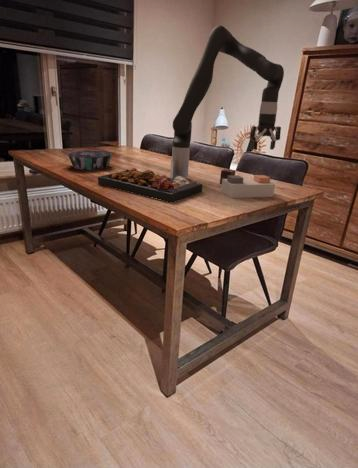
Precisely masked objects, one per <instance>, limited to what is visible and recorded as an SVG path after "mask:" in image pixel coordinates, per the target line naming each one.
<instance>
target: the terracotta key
mask: <svg viewBox="0 0 358 468" xmlns="http://www.w3.org/2000/svg"><path fill="white" fill-rule="evenodd" d="M253 179H254V181H255V182H257V183H270V182H271V177H270V176H267V175H265V174H264V175H263V174H262V175H261V174H258V175H257V174H255V175H254V176H253Z"/></svg>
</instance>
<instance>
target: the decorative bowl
mask: <svg viewBox="0 0 358 468" xmlns="http://www.w3.org/2000/svg"><path fill="white" fill-rule="evenodd" d="M66 155H67V156H68V158H69V160H70V163H71V165H72V168H74V169H76V170H80V171H94V170H95V169H96V171H97V169H99V170H105V168H106V169H107V168H108V167H109V166H110V163H111V160H112V156H113V153H112V152H110V151H105V150H96V149H95V150H94V149H89V150H87V149H83V150H75V151H70V152H68V153H67V154H66Z"/></svg>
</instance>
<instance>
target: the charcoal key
mask: <svg viewBox="0 0 358 468" xmlns="http://www.w3.org/2000/svg"><path fill="white" fill-rule="evenodd" d="M243 179H244V177H242V176H241V175H236V174H235V175H232V176H228V177H227V181H228V182H230V183H231V184H238V183H243Z"/></svg>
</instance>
